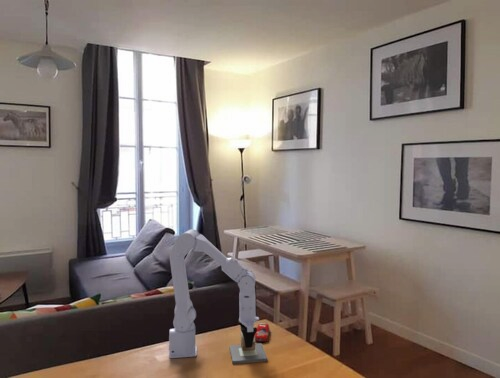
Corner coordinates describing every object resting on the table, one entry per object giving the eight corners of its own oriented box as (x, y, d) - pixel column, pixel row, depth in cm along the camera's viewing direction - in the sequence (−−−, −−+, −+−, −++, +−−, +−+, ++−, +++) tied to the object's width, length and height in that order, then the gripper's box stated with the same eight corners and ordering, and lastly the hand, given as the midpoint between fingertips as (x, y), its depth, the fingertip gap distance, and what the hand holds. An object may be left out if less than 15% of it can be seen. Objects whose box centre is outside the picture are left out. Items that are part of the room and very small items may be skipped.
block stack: (242, 351, 136) (242, 334, 135) (241, 345, 140) (240, 329, 140) (255, 350, 136) (255, 333, 136) (253, 344, 141) (253, 328, 140)
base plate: (232, 363, 131) (232, 360, 131) (229, 348, 143) (229, 345, 143) (267, 361, 133) (267, 358, 133) (261, 345, 145) (261, 342, 145)
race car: (267, 344, 147) (267, 334, 147) (253, 343, 148) (253, 333, 148) (270, 330, 160) (270, 320, 160) (257, 329, 161) (257, 319, 161)
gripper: (262, 312, 131) (262, 352, 131) (255, 299, 145) (255, 334, 146) (241, 314, 130) (241, 353, 130) (236, 300, 144) (237, 335, 145)
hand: (247, 343), depth 138 cm, fingers closed on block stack, 4 cm apart
